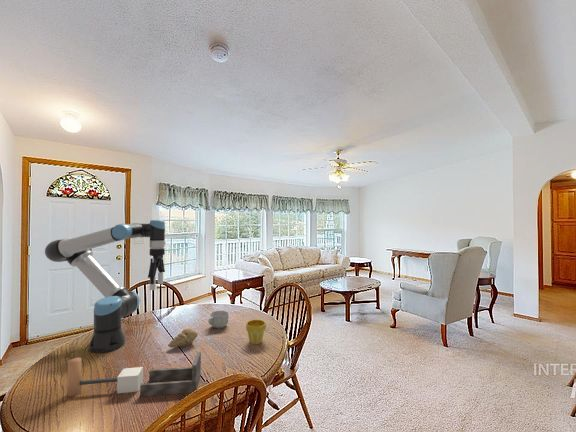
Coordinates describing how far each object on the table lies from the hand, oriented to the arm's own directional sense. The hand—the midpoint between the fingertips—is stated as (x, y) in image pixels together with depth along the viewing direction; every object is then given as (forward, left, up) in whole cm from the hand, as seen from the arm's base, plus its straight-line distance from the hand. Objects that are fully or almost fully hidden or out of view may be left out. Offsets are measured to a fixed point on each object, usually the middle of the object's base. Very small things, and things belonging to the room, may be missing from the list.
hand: (156, 286), depth 154 cm
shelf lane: (+20, -49, -27) cm, 59 cm away
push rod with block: (-3, -49, -27) cm, 56 cm away
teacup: (+32, +8, -27) cm, 43 cm away
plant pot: (+54, -14, -27) cm, 62 cm away
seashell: (+17, -15, -27) cm, 35 cm away
